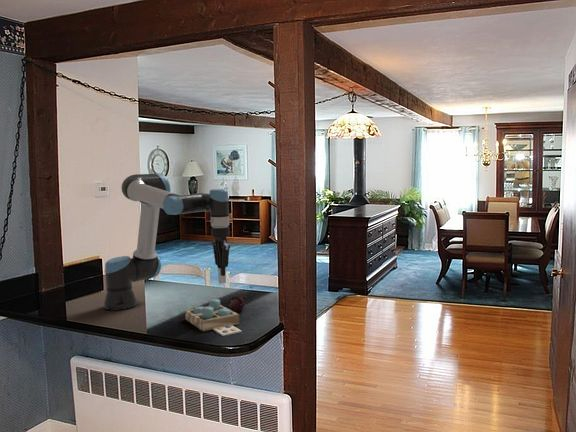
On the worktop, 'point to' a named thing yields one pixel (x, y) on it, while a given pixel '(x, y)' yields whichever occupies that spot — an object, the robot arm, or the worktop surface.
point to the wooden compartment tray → (213, 322)
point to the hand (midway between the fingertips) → (222, 282)
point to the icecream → (237, 303)
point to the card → (226, 330)
